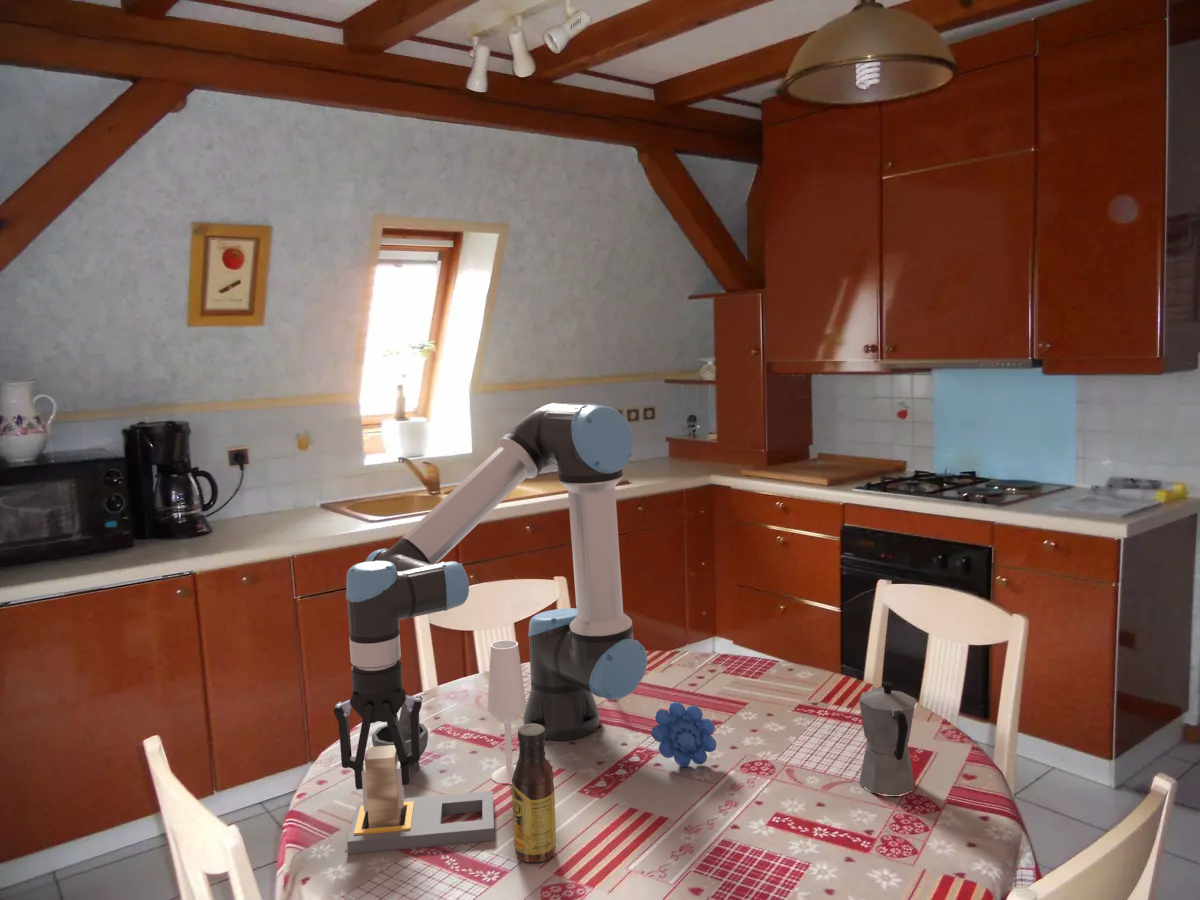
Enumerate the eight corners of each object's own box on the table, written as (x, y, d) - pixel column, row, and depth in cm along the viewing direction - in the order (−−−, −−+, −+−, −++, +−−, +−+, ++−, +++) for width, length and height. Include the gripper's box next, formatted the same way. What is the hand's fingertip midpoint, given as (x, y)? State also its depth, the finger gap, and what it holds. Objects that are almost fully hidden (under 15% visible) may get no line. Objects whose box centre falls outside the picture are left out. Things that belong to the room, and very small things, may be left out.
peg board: (493, 802, 154) (492, 789, 154) (494, 840, 142) (494, 826, 142) (358, 814, 151) (357, 800, 151) (347, 854, 139) (347, 839, 139)
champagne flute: (530, 782, 160) (525, 649, 158) (491, 786, 159) (485, 652, 157) (526, 765, 167) (522, 636, 164) (489, 769, 166) (484, 639, 163)
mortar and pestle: (416, 783, 161) (412, 717, 160) (365, 780, 163) (362, 714, 162) (438, 754, 172) (435, 692, 171) (391, 752, 174) (387, 690, 173)
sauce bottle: (514, 844, 141) (509, 719, 139) (555, 841, 141) (551, 716, 139) (514, 868, 134) (509, 737, 132) (557, 865, 135) (552, 735, 133)
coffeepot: (848, 767, 163) (849, 668, 161) (902, 766, 163) (903, 667, 161) (873, 811, 148) (874, 703, 146) (932, 810, 148) (934, 702, 145)
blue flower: (654, 779, 160) (653, 713, 159) (650, 761, 167) (649, 698, 166) (721, 775, 161) (720, 709, 160) (714, 758, 168) (713, 695, 166)
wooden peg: (401, 816, 148) (397, 744, 147) (398, 830, 144) (394, 757, 142) (372, 818, 148) (368, 747, 146) (369, 833, 143) (364, 759, 142)
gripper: (434, 650, 147) (441, 789, 150) (321, 658, 145) (330, 798, 148) (432, 666, 140) (439, 812, 143) (313, 675, 138) (323, 822, 141)
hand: (384, 805), depth 145 cm, fingers closed on wooden peg, 4 cm apart
